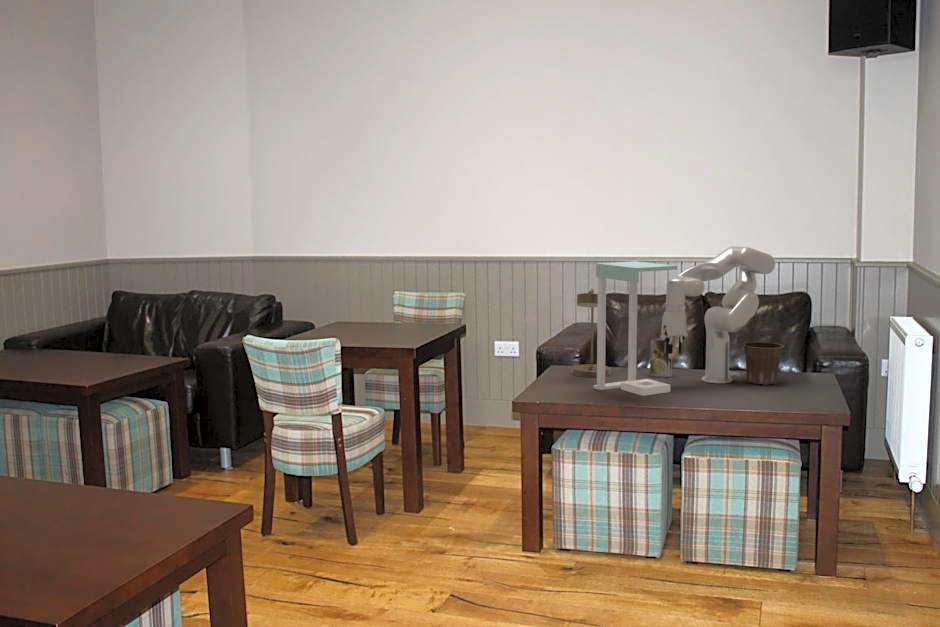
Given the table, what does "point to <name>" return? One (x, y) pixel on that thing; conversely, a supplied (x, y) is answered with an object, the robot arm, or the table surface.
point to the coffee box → (660, 359)
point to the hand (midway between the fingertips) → (673, 352)
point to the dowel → (675, 348)
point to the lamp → (591, 369)
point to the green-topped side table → (631, 274)
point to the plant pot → (762, 362)
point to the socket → (645, 387)
